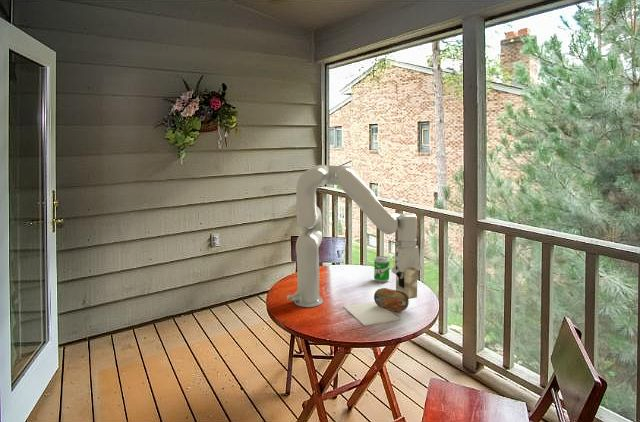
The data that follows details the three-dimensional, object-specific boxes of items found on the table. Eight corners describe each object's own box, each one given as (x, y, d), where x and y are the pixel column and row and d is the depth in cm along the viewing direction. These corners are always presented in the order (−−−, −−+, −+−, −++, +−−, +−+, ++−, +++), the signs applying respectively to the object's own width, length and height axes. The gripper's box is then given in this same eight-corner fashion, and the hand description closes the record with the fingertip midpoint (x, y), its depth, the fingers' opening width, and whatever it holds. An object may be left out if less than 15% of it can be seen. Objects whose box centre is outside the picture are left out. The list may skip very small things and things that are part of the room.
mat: (364, 326, 168) (364, 324, 168) (343, 307, 187) (343, 306, 187) (399, 320, 174) (399, 318, 174) (375, 302, 192) (375, 301, 192)
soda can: (373, 278, 225) (373, 255, 223) (388, 278, 225) (388, 255, 222) (374, 283, 217) (375, 259, 215) (390, 283, 217) (390, 259, 215)
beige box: (408, 298, 179) (409, 270, 177) (395, 291, 189) (396, 264, 187) (417, 297, 181) (417, 269, 179) (403, 290, 190) (404, 263, 188)
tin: (373, 305, 187) (373, 287, 185) (376, 303, 189) (377, 285, 188) (405, 314, 178) (406, 294, 177) (409, 312, 181) (410, 292, 179)
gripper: (394, 247, 175) (393, 291, 178) (429, 243, 181) (428, 286, 184) (384, 243, 182) (384, 285, 185) (419, 239, 187) (418, 280, 191)
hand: (406, 285), depth 184 cm, fingers closed on beige box, 4 cm apart
